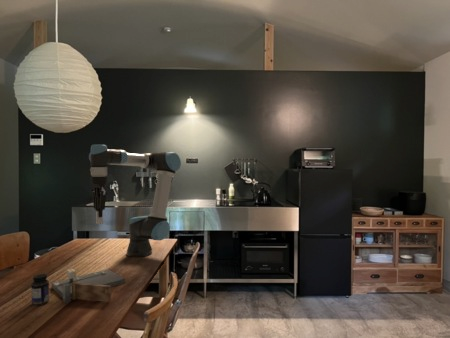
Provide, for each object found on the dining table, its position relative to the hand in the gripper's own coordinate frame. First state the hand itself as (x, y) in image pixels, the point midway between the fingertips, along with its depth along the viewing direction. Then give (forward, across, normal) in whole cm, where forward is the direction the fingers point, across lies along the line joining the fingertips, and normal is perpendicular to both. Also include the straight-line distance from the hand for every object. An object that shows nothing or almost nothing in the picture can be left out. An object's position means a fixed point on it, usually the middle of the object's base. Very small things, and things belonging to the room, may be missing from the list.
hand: (99, 223), depth 154 cm
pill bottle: (+27, +12, -29) cm, 41 cm away
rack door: (+26, +24, -14) cm, 38 cm away
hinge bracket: (+26, +18, -21) cm, 38 cm away
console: (+26, +7, -8) cm, 28 cm away
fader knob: (+24, +3, -14) cm, 28 cm away
